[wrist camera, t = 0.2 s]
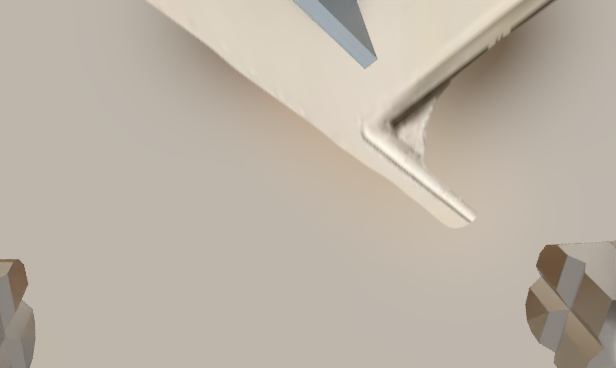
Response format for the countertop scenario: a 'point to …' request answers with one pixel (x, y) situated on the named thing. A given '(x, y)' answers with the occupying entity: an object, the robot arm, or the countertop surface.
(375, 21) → the countertop surface
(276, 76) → the countertop surface
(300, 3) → the shelf stand
